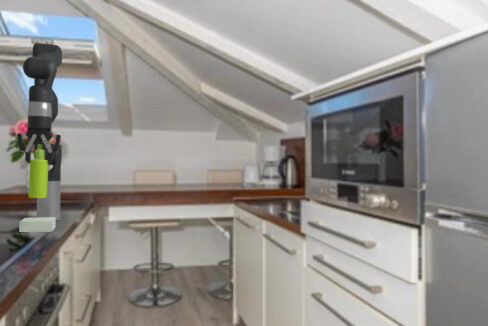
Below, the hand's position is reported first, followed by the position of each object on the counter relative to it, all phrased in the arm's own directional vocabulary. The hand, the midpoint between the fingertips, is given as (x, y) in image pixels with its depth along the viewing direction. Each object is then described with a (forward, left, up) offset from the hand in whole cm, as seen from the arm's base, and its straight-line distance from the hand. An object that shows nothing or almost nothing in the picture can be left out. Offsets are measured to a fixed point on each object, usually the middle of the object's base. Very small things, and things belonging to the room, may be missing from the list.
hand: (39, 163), depth 144 cm
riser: (-11, -2, -25) cm, 28 cm away
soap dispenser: (0, 0, -12) cm, 12 cm away
